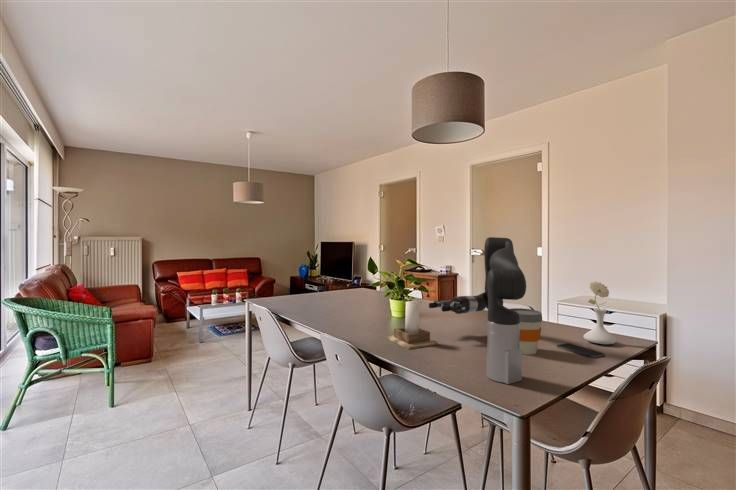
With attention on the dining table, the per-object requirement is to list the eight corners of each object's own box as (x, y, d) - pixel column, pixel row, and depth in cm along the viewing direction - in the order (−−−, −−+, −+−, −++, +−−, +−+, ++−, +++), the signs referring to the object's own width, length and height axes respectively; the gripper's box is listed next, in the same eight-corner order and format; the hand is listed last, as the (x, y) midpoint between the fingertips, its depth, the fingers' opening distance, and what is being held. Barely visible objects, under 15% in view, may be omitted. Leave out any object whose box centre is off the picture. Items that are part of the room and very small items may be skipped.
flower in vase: (623, 347, 143) (624, 284, 142) (593, 346, 143) (595, 283, 143) (602, 337, 156) (603, 280, 155) (575, 337, 156) (576, 279, 156)
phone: (592, 356, 129) (555, 344, 142) (592, 359, 129) (555, 347, 142) (606, 354, 132) (569, 342, 146) (606, 357, 132) (569, 345, 146)
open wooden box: (437, 344, 144) (437, 333, 144) (408, 349, 138) (408, 337, 138) (414, 334, 159) (414, 324, 158) (387, 338, 152) (387, 327, 152)
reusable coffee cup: (545, 357, 130) (546, 315, 129) (508, 354, 132) (509, 314, 132) (536, 347, 142) (537, 309, 142) (503, 344, 144) (503, 307, 144)
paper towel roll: (421, 339, 147) (422, 302, 147) (410, 341, 144) (410, 303, 144) (413, 336, 152) (414, 300, 152) (402, 338, 149) (402, 301, 149)
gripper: (453, 293, 166) (425, 296, 159) (476, 298, 154) (446, 300, 146) (453, 310, 166) (425, 313, 159) (476, 316, 154) (446, 319, 146)
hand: (435, 307), depth 152 cm, fingers open, 8 cm apart
